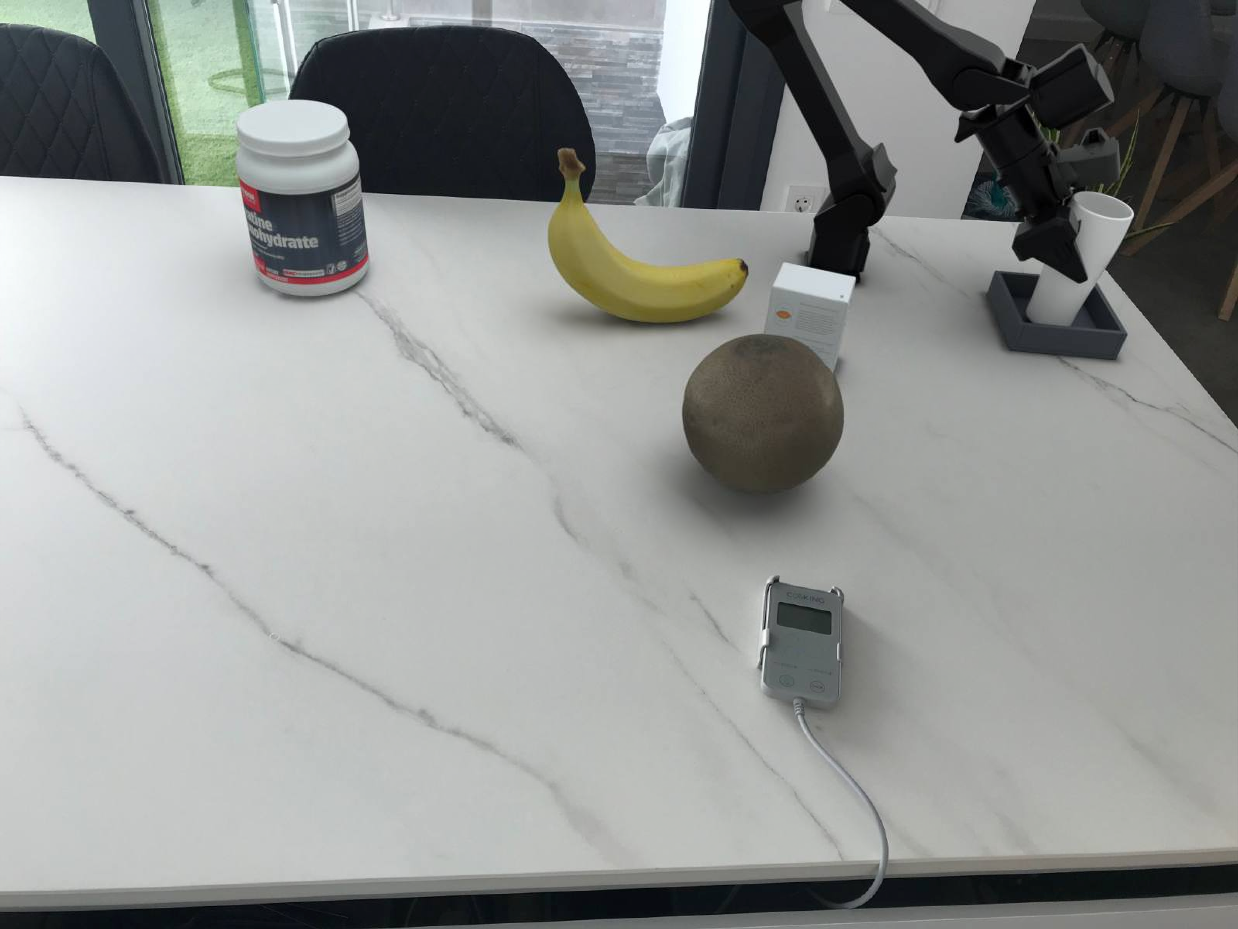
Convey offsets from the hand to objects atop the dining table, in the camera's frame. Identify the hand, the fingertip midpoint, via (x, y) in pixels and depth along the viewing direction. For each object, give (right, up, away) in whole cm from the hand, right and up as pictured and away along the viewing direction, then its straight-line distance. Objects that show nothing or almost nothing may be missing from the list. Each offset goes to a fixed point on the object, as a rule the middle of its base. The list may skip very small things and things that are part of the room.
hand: (1085, 268), depth 111 cm
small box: (-33, -11, -4) cm, 36 cm away
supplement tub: (-89, 0, +4) cm, 89 cm away
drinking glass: (-2, -5, +5) cm, 8 cm away
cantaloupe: (-41, -24, -19) cm, 51 cm away
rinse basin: (-2, -6, +6) cm, 8 cm away
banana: (-50, -5, +2) cm, 50 cm away
